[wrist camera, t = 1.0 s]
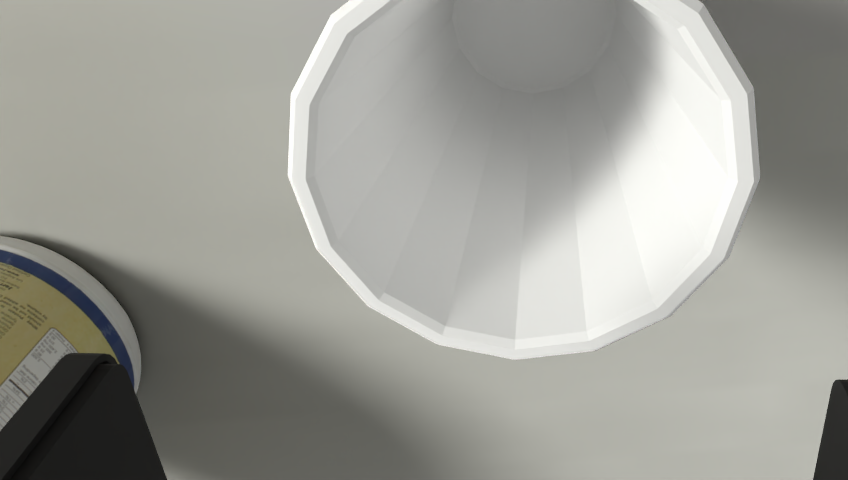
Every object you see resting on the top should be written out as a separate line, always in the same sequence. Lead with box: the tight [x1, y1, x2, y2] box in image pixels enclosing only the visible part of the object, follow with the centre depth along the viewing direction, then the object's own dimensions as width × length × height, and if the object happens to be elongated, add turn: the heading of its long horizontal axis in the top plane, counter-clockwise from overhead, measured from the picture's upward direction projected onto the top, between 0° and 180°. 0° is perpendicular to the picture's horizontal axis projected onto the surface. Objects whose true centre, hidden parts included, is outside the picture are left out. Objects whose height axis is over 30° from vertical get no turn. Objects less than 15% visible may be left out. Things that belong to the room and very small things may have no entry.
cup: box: [288, 0, 760, 360], centre depth 22 cm, size 10×10×13 cm
